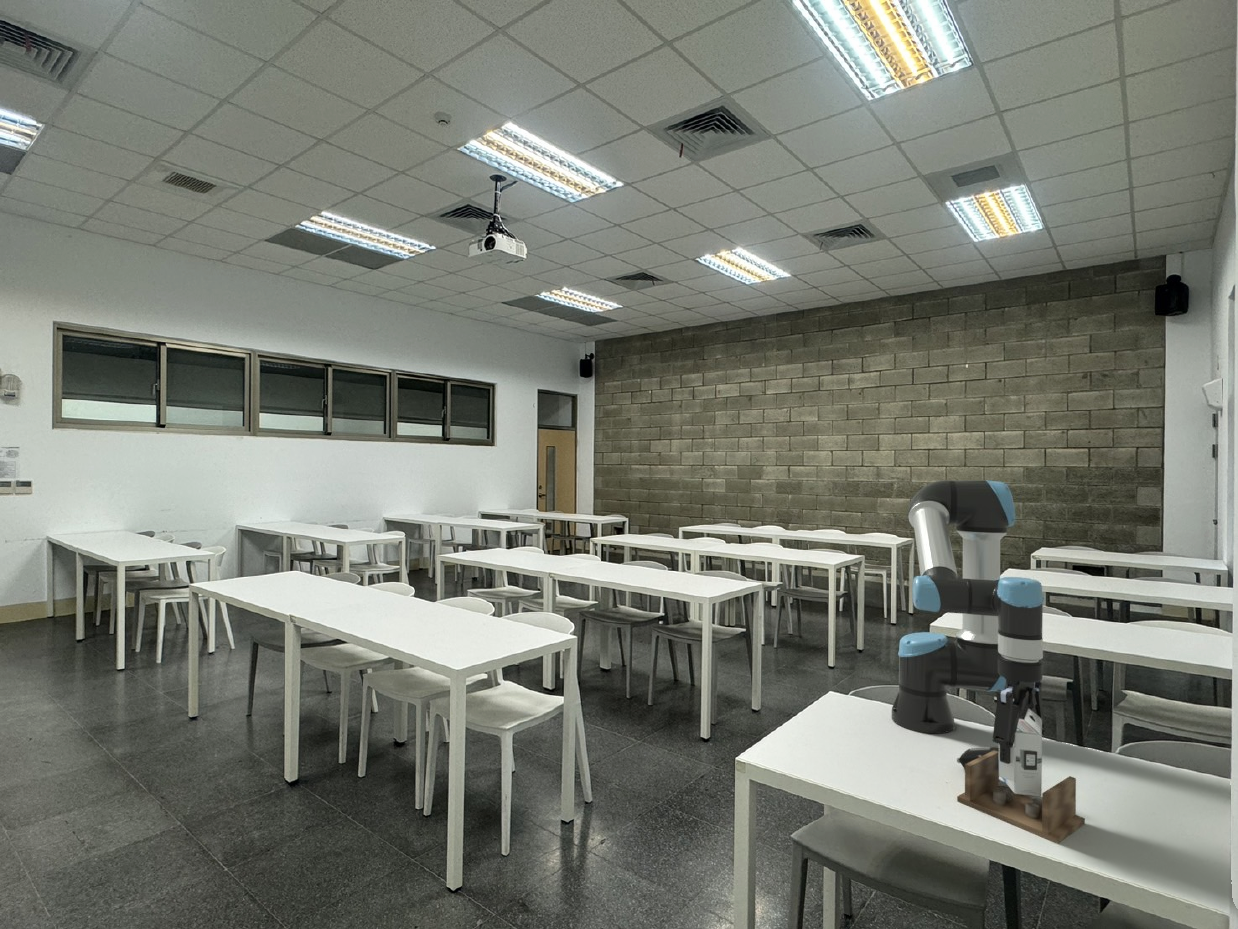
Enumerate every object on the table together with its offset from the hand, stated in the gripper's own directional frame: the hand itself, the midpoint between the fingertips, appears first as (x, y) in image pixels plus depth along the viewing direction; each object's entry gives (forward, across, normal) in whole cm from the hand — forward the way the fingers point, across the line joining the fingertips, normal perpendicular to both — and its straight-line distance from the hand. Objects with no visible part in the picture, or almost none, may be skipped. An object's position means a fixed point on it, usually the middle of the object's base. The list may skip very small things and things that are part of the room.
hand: (1019, 772), depth 127 cm
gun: (+8, -10, -9) cm, 16 cm away
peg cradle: (+8, 0, 0) cm, 8 cm away
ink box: (+3, 0, 0) cm, 3 cm away
